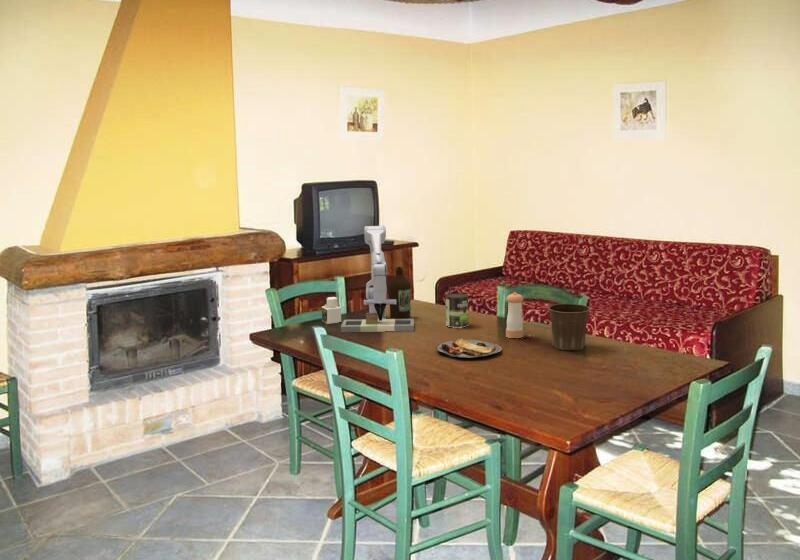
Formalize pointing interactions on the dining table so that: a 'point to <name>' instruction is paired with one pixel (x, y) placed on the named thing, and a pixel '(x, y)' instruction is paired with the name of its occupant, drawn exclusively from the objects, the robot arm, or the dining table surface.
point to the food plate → (468, 348)
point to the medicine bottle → (331, 310)
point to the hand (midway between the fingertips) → (380, 320)
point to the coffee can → (456, 310)
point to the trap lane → (378, 325)
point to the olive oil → (400, 295)
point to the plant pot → (568, 325)
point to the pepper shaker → (514, 316)
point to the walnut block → (371, 318)
